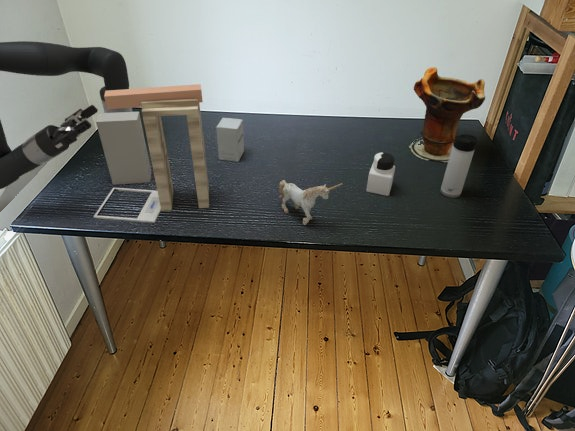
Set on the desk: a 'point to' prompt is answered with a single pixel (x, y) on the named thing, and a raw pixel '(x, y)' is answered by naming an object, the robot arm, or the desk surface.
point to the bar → (150, 95)
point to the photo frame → (146, 214)
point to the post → (124, 147)
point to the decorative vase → (443, 112)
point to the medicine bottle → (381, 174)
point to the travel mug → (458, 165)
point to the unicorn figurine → (302, 197)
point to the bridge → (159, 152)
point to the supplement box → (230, 139)
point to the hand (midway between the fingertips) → (92, 115)
